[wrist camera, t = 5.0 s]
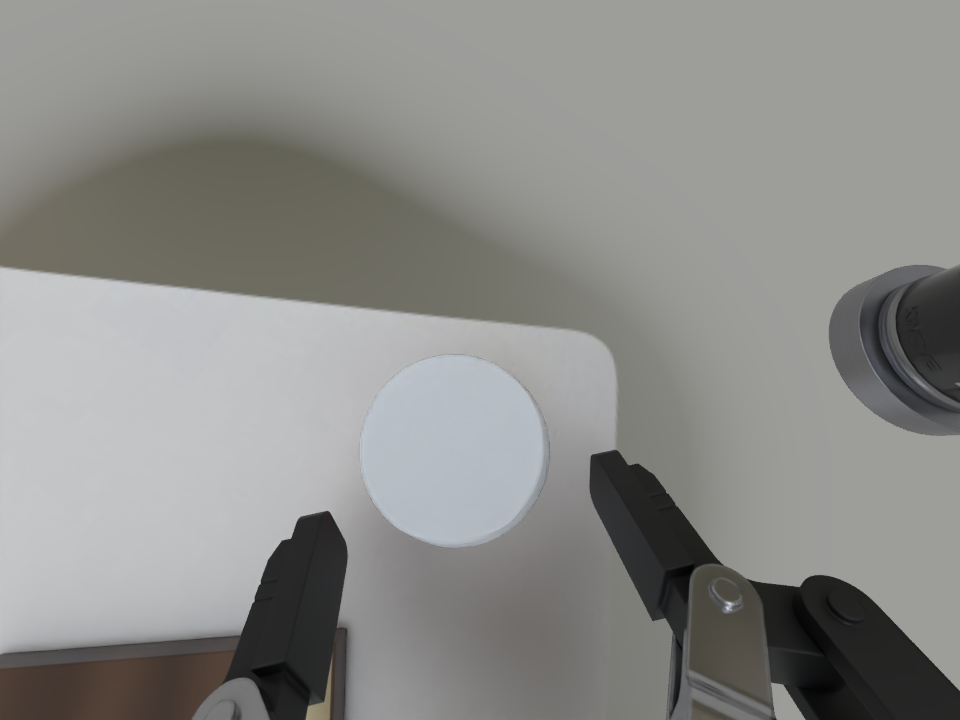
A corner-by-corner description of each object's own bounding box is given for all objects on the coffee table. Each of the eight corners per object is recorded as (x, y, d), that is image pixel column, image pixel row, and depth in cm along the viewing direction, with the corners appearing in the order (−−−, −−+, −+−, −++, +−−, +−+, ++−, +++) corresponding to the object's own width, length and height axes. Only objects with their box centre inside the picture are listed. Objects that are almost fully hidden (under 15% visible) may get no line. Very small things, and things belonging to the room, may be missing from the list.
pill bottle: (384, 433, 20) (279, 407, 9) (478, 372, 21) (483, 283, 10) (445, 535, 19) (408, 646, 8) (542, 465, 19) (627, 478, 9)
